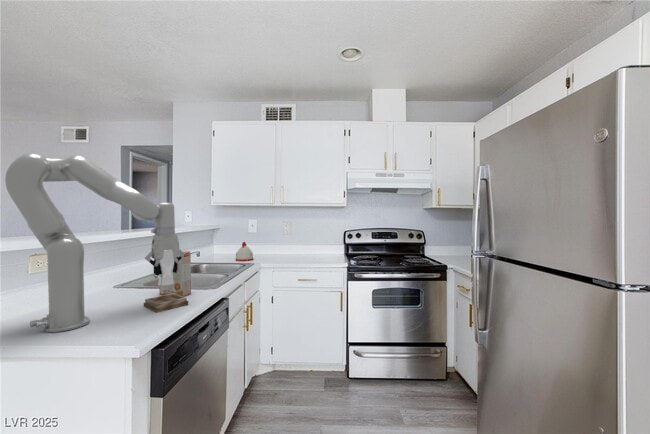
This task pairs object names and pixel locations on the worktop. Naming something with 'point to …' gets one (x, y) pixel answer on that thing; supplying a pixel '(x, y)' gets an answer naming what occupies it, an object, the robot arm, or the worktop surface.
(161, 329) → the worktop surface
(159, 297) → the brown square tray
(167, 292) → the cracker box
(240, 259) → the cream dome with knob
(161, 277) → the beer glass
